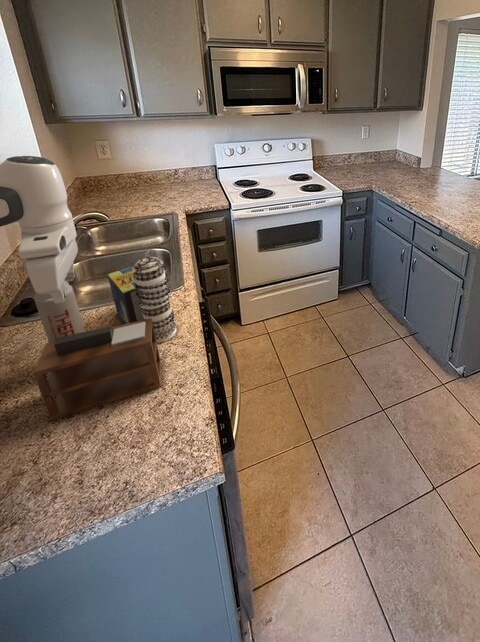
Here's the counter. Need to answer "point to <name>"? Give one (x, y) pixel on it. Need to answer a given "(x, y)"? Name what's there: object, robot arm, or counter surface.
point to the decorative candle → (155, 296)
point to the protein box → (125, 295)
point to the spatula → (99, 338)
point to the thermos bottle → (59, 314)
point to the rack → (98, 373)
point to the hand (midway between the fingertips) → (65, 290)
